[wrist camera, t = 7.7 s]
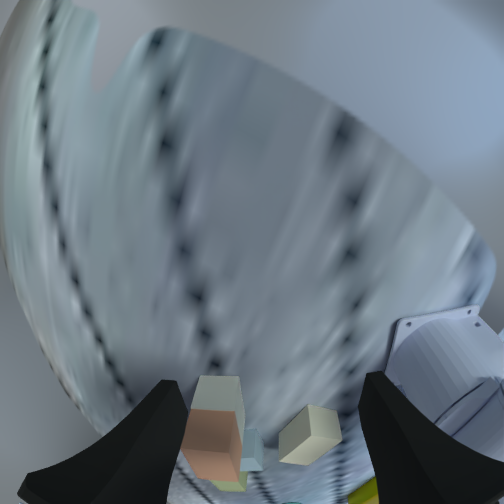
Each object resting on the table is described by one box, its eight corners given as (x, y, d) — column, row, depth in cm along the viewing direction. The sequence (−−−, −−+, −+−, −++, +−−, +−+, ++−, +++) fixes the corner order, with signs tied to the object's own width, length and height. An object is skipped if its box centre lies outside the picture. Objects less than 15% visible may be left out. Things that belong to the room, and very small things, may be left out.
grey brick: (200, 375, 23) (190, 407, 19) (238, 376, 22) (234, 410, 19) (211, 414, 25) (205, 444, 21) (245, 415, 24) (242, 446, 21)
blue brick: (256, 428, 25) (254, 457, 21) (264, 442, 26) (262, 470, 23) (204, 431, 26) (198, 458, 22) (215, 445, 27) (211, 471, 23)
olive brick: (209, 450, 28) (205, 475, 24) (236, 450, 27) (233, 476, 24) (223, 468, 30) (220, 490, 26) (248, 468, 29) (245, 491, 25)
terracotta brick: (242, 446, 21) (238, 481, 17) (205, 444, 21) (198, 478, 17) (234, 411, 19) (228, 452, 15) (191, 408, 19) (179, 448, 15)
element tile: (343, 496, 35) (345, 515, 30) (385, 465, 30) (391, 488, 25) (400, 488, 35) (404, 504, 31) (444, 454, 30) (451, 472, 26)
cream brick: (307, 403, 23) (311, 435, 20) (336, 409, 24) (342, 440, 20) (278, 432, 25) (278, 461, 22) (305, 437, 26) (308, 465, 22)
